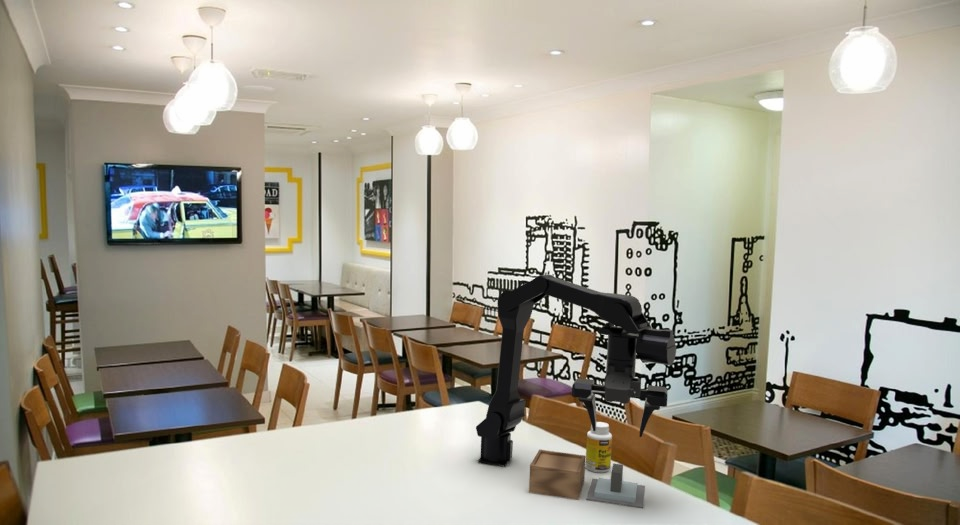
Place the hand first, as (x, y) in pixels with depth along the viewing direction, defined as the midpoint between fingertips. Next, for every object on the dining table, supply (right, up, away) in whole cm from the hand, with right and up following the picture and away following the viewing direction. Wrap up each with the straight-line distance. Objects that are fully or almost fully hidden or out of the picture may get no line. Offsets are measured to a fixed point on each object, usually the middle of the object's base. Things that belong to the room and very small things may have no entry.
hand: (617, 433), depth 134 cm
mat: (0, -12, 0) cm, 12 cm away
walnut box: (-12, -12, +3) cm, 17 cm away
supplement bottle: (-2, -12, +14) cm, 18 cm away
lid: (0, -12, 0) cm, 12 cm away
